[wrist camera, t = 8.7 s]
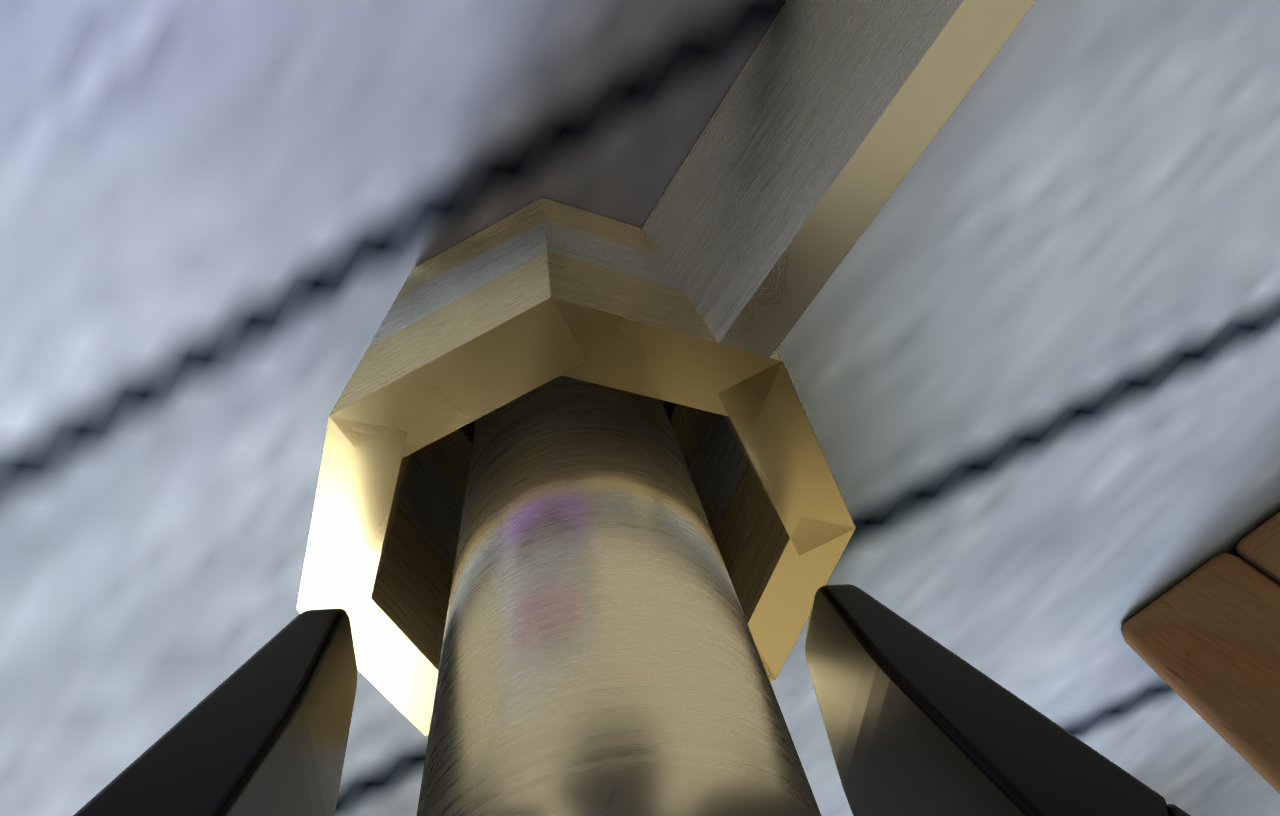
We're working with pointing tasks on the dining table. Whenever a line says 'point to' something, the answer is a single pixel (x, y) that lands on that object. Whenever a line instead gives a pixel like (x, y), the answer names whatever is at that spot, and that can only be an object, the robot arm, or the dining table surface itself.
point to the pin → (597, 631)
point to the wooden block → (1224, 645)
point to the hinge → (647, 331)
